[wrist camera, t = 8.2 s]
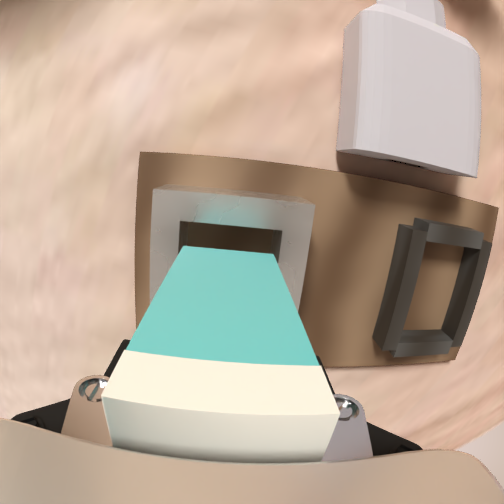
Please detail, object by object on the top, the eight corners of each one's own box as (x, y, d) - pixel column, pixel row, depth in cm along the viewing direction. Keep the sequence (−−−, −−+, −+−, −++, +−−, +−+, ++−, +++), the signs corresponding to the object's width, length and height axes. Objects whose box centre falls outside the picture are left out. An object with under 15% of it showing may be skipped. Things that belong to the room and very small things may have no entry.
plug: (273, 253, 15) (339, 413, 5) (258, 365, 16) (280, 542, 6) (183, 245, 14) (101, 395, 5) (179, 359, 16) (142, 533, 6)
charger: (443, 6, 17) (443, 174, 21) (341, -31, 16) (331, 151, 20) (475, -13, 12) (483, 180, 16) (361, -62, 12) (357, 149, 16)
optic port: (301, 197, 20) (315, 204, 16) (279, 344, 22) (286, 373, 19) (167, 184, 19) (152, 189, 16) (162, 333, 22) (151, 361, 18)
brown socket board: (491, 205, 21) (514, 212, 18) (449, 354, 25) (465, 371, 22) (144, 152, 19) (129, 150, 16) (141, 345, 23) (130, 367, 20)
